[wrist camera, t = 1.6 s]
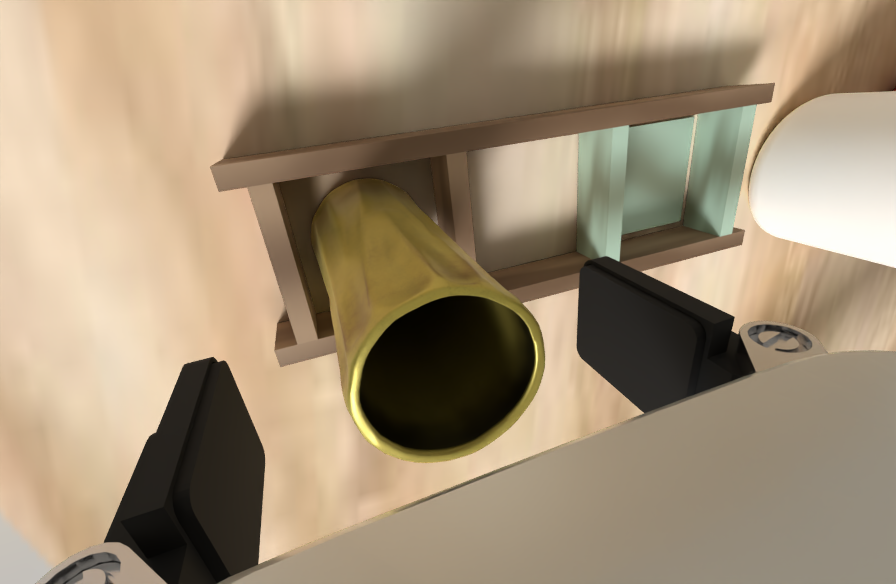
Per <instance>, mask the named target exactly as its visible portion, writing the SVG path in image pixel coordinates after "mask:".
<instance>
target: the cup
mask: <svg viewBox="0 0 896 584" xmlns="http://www.w3.org/2000/svg"><path fill="white" fill-rule="evenodd" d="M749 205H750V209H751V213H752V215H753V217H754V219H755V221H756V222H757V224H758V225H759V226H760V227H761V228H762V229H763V230H764V231H766V232H767V233H769V234H771V235H773V236H775V237H778V238H782V239H786V240H790V241H794V242H798V243H801V244H805V245H809V246H813V247H817V248H821V249H825V250H828V251H832V252H836V253H840V254H844V255H848V256H852V257H855V258H859V259H863V260H867V261H871V262H875V263H879V264H883V265H886V266H890V267H894V268H896V91H886V92H860V93H836V94H829V95H824V96H820V97H817V98H815V99H812V100H810V101H808V102H806V103H804V104H802V105H801V106H799V107H798V108H796V109H795V110H794V111H792V112H791V113H790V114H789V115H787V116H786V117H785V118H784V119H783V120H782V121H781V122H780V123H779V124H778V125H777V126H776V127H775V129H774V130H773V131H772V133H771V134H770V135H769V137H768V138H767V140H766V141H765V143H764V145H763V146H762V148H761V150H760V152H759V154H758V156H757V158H756V161H755V163H754V166H753V169H752V173H751V177H750V183H749Z"/></svg>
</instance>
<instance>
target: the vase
mask: <svg viewBox="0 0 896 584" xmlns="http://www.w3.org/2000/svg"><path fill="white" fill-rule="evenodd" d="M311 243H312V247H313V250H314V253H315V255H316V258H317V261H318V264H319V267H320V270H321V274H322V277H323V280H324V283H325V286H326V289H327V292H328V295H329V299H330V310H331V316H332V323H333V329H334V334H335V341H336V348H337V355H338V361H339V367H340V375H341V386H342V391H343V396H344V400H345V404H346V407H347V409H348V411H349V413H350V415H351V417H352V419H353V421H354V423H355V424H356V426H357V427H358V429H359V431H360V432H361V434H362V435H363V437H364V438H365V439H366V440H367V441H368V442H369V443H370V444H372V445H373V446H375V447H376V448H378V449H379V450H381V451H382V452H384V453H385V454H387V455H390V456H393V457H396V458H398V459H401V460H405V461H410V462H418V463H433V462H443V461H449V460H453V459H457V458H460V457H464V456H467V455H469V454H472V453H474V452H476V451H478V450H480V449H482V448H484V447H485V446H487V445H488V444H490V443H491V442H493V441H494V440H496V439H497V438H498V437H500V436H501V435H502V434H503V433H505V432H506V431H507V430H508V429H509V428H510V427H511V426H512V425H513V424H514V423H515V422H516V421H517V420H518V419H519V418H520V416H521V415H522V414H523V413H524V411H525V410H526V409H527V407H528V406H529V404H530V403H531V401H532V400H533V398H534V396H535V395H536V393H537V391H538V388H539V386H540V383H541V380H542V376H543V372H544V368H545V351H544V342H543V337H542V332H541V330H540V327H539V324H538V322H537V321H536V319H535V318H534V316H533V315H532V314H531V313H530V311H529V310H528V309H527V308H526V307H525V306H524V305H523V304H522V303H521V301H520V300H519V299H518V298H517V297H516V296H515V295H513V294H512V293H511V292H509V291H508V290H506V289H505V288H504V287H503V286H502V285H500V284H499V283H498V282H497V281H496V280H495V279H494V278H493V277H491V276H490V275H489V274H488V273H487V272H486V271H485V270H484V269H483V268H482V267H481V266H480V265H479V264H478V263H477V262H476V261H475V260H473V259H472V258H471V257H470V256H469V255H468V254H467V253H466V252H465V251H464V250H463V249H462V248H460V247H459V246H458V245H457V244H456V243H455V242H454V241H453V240H452V239H451V238H450V237H449V236H448V235H447V234H446V233H445V232H444V231H443V230H442V229H441V228H440V227H439V226H438V225H437V224H436V223H435V222H434V221H433V220H432V219H430V218H429V217H428V216H427V215H426V214H425V213H424V212H423V211H422V210H421V209H420V208H419V207H418V206H417V205H416V204H415V202H414V201H413V200H412V198H411V197H410V196H409V195H408V194H407V193H406V192H405V191H404V190H402V189H401V188H399V187H397V186H395V185H393V184H391V183H389V182H386V181H384V180H379V179H371V178H367V179H356V180H352V181H349V182H347V183H345V184H343V185H341V186H339V187H337V188H336V189H334V190H333V191H331V192H330V193H329V194H328V195H327V196H326V197H325V199H324V200H323V201H322V203H321V205H320V206H319V208H318V210H317V211H316V213H315V215H314V217H313V220H312V227H311Z"/></svg>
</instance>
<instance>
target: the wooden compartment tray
mask: <svg viewBox="0 0 896 584" xmlns="http://www.w3.org/2000/svg"><path fill="white" fill-rule="evenodd" d="M774 86H775V83H768V84H753V85H737V86H725V87H718V88H711V89H704V90H697V91H690V92H684V93H677V94H670V95H663V96H656V97H649V98H642V99H635V100H628V101H622V102H615V103H608V104H601V105H594V106H587V107H580V108H573V109H566V110H560V111H553V112H546V113H539V114H532V115H525V116H518V117H511V118H504V119H498V120H491V121H484V122H477V123H470V124H463V125H456V126H449V127H443V128H436V129H429V130H422V131H415V132H408V133H401V134H394V135H387V136H381V137H374V138H367V139H360V140H353V141H346V142H339V143H332V144H325V145H319V146H312V147H305V148H298V149H291V150H284V151H277V152H270V153H263V154H257V155H250V156H243V157H236V158H229V159H222V160H221V161H219V162H217V163H216V164H214V165H212V166H210V168H211V171H212V174H213V177H214V180H215V182H216V185H217V188H218V191H219V192H221V191H227V190H233V189H239V188H245V187H247V188H248V191H249V195H250V198H251V201H252V204H253V207H254V210H255V213H256V216H257V220H258V223H259V226H260V229H261V232H262V235H263V238H264V241H265V245H266V248H267V251H268V254H269V257H270V260H271V263H272V266H273V270H274V273H275V276H276V279H277V282H278V285H279V288H280V291H281V294H282V298H283V301H284V304H285V307H286V310H287V313H288V316H289V319H290V320H289V321H285V322H281V323H277V332H276V341H275V353H276V356H277V359H278V362H279V365H280V367H283V366H286V365H290V364H294V363H298V362H301V361H305V360H309V359H313V358H317V357H320V356H324V355H328V354H332V353H335V352H337V348H336V341H335V334H334V329H333V323H332V316H331V311H327V312H323V313H318V314H316V313H315V309H314V306H313V302H312V299H311V295H310V292H309V288H308V285H307V281H306V278H305V274H304V271H303V267H302V264H301V260H300V257H299V253H298V250H297V246H296V243H295V239H294V236H293V232H292V229H291V225H290V222H289V218H288V215H287V211H286V208H285V204H284V201H283V197H282V194H281V190H280V187H279V183H278V182H282V181H288V180H294V179H301V178H307V177H313V176H319V175H325V174H331V173H338V172H344V171H350V170H356V169H362V168H368V167H375V166H381V165H387V164H393V163H399V162H405V161H412V160H418V159H424V158H430V163H431V171H432V179H433V186H434V194H435V202H436V210H437V218H438V226H439V227H440V228H441V229H442V230H443V231H444V232H445V233H446V234H447V235H448V236H449V237H450V238H451V239H452V240H453V241H454V242H455V243H456V244H457V245H458V246H459V247H460V248H462V249H463V250H464V251H465V252H466V253H467V254H468V255H469V256H470V257H471V258H472V259H473V260H475V261H476V254H475V243H474V232H473V221H472V210H471V199H470V187H469V176H468V165H467V154H466V152H467V151H473V150H479V149H485V148H492V147H498V146H504V145H510V144H516V143H522V142H529V141H535V140H541V139H547V138H553V137H559V136H566V135H572V134H578V133H579V149H578V194H577V239H576V252H572V253H568V254H564V255H559V256H555V257H551V258H547V259H543V260H539V261H535V262H530V263H526V264H522V265H518V266H514V267H510V268H505V269H501V270H497V271H493V272H489V273H488V274H489V275H490V276H491V277H493V278H494V279H495V280H496V281H497V282H498V283H499V284H500V285H502V286H503V287H504V288H505V289H506V290H508V291H509V292H511V293H512V294H513V295H515V296H516V297H517V298H518V299H519V300H520V301H521V303H524V302H528V301H531V300H535V299H539V298H543V297H546V296H550V295H554V294H558V293H561V292H565V291H569V290H573V289H577V288H579V275H580V270H581V268H582V267H584V264H585V262H586V261H588V260H592V259H596V258H600V257H604V256H608V257H610V258H613V259H615V260H617V261H619V262H621V263H623V264H625V265H627V266H629V267H631V268H633V269H635V270H638V271H640V272H641V271H644V270H648V269H652V268H656V267H659V266H663V265H667V264H671V263H674V262H678V261H682V260H686V259H690V258H693V257H697V256H701V255H705V254H708V253H712V252H716V251H720V250H723V249H727V248H731V247H735V246H739V245H742V242H743V237H744V232H745V230H742V229H738V228H734V227H733V226H734V221H735V215H736V210H737V205H738V200H739V195H740V189H741V184H742V179H743V174H744V168H745V163H746V158H747V153H748V148H749V142H750V137H751V132H752V127H753V121H754V116H755V111H756V106H757V104H763V103H769V102H771V100H772V95H773V91H774ZM695 114H698V119H697V126H696V134H695V141H694V148H693V155H692V163H691V170H690V177H689V185H688V192H687V199H686V207H685V214H684V221H683V226H680V227H676V228H672V229H667V230H663V231H659V232H655V233H651V234H647V235H643V236H638V237H634V238H630V239H626V240H622V241H621V235H623V234H628V233H632V232H636V231H640V230H644V229H649V228H653V227H657V226H661V225H666V224H670V223H674V222H678V221H680V220H681V213H682V205H683V198H684V190H685V183H686V175H687V168H688V160H689V153H690V145H691V138H692V130H693V123H694V117H688V118H681V119H675V120H669V121H663V122H657V123H651V124H645V125H639V126H633V127H629V125H633V124H639V123H646V122H652V121H658V120H664V119H670V118H676V117H683V116H689V115H695Z"/></svg>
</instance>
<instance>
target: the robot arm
mask: <svg viewBox="0 0 896 584" xmlns="http://www.w3.org/2000/svg"><path fill="white" fill-rule="evenodd" d="M734 318H735V317H734V316H731V315H729V314H727V313H725V312H723V311H721V310H719V309H717V308H715V307H713V306H711V305H709V304H706V303H704V302H702V301H700V300H698V299H696V298H694V297H692V296H690V295H688V294H686V293H683V292H681V291H679V290H677V289H675V288H673V287H671V286H669V285H667V284H665V283H663V282H661V281H658V280H656V279H654V278H652V277H650V276H648V275H646V274H644V273H642V272H640V271H638V270H635V269H633V268H631V267H629V266H627V265H625V264H623V263H621V262H619V261H617V260H615V259H613V258H610V257H608V256H604V257H600V258H596V259H592V260H588V261H586V262H585V264H584V267H582V268H581V270H580V275H579V300H578V325H577V351H578V353H579V355H580V357H581V358H582V359H583V360H584V361H585V362H586V363H587V364H589V365H590V366H591V367H592V368H593V369H594V370H596V371H597V372H598V373H599V374H600V375H601V376H602V377H604V378H605V379H606V380H607V381H608V382H609V383H610V384H612V385H613V386H614V387H615V388H616V389H617V390H618V391H620V392H621V393H622V394H623V395H624V396H625V397H626V398H628V399H629V400H630V401H631V402H632V403H633V404H634V405H636V406H637V407H638V408H639V409H640V410H641V411H643V412H644V414H642V415H639V416H636V417H634V418H631V419H628V420H626V421H623V422H620V423H618V424H615V425H612V426H610V427H607V428H604V429H602V430H599V431H596V432H594V433H591V434H589V435H586V436H583V437H581V438H578V439H575V440H573V441H570V442H568V443H565V444H562V445H560V446H557V447H554V448H552V449H549V450H547V451H544V452H541V453H539V454H536V455H534V456H531V457H528V458H526V459H523V460H520V461H518V462H515V463H513V464H510V465H507V466H505V467H502V468H500V469H497V470H494V471H492V472H489V473H487V474H484V475H481V476H479V477H476V478H474V479H471V480H469V481H466V482H463V483H461V484H458V485H456V486H453V487H451V488H448V489H445V490H443V491H440V492H438V493H435V494H432V495H430V496H427V497H425V498H422V499H420V500H417V501H414V502H412V503H409V504H407V505H404V506H402V507H399V508H396V509H394V510H391V511H389V512H386V513H384V514H381V515H378V516H376V517H373V518H371V519H368V520H366V521H363V522H361V523H358V524H356V525H353V526H350V527H348V528H345V529H343V530H340V531H338V532H335V533H333V534H330V535H328V536H325V537H323V538H320V539H318V540H315V541H313V542H310V543H308V544H305V545H303V546H301V547H298V548H296V549H293V550H291V551H289V552H286V553H284V554H282V555H279V556H277V557H275V558H272V559H270V560H268V561H265V562H263V563H261V564H258V560H259V545H260V530H261V516H262V501H263V487H264V472H265V454H264V449H263V446H262V443H261V441H260V439H259V436H258V434H257V432H256V429H255V427H254V425H253V422H252V420H251V418H250V415H249V413H248V411H247V408H246V406H245V403H244V401H243V399H242V396H241V394H240V392H239V389H238V387H237V385H236V382H235V380H234V378H233V375H232V373H231V371H230V368H229V366H228V364H227V363H226V361H220V362H217V360H216V359H215V358H214V357H211V358H207V359H203V360H199V361H195V362H191V363H187V364H184V366H183V368H182V370H181V373H180V375H179V378H178V380H177V383H176V385H175V387H174V390H173V392H172V395H171V397H170V400H169V402H168V405H167V407H166V410H165V412H164V415H163V417H162V419H161V422H160V424H159V427H158V429H157V432H156V433H154V434H152V435H151V436H150V437H149V438H148V440H147V442H146V444H145V446H144V449H143V451H142V453H141V456H140V458H139V460H138V463H137V465H136V468H135V470H134V472H133V475H132V477H131V479H130V482H129V484H128V486H127V489H126V491H125V493H124V496H123V498H122V501H121V503H120V505H119V508H118V510H117V512H116V515H115V517H114V519H113V522H112V524H111V526H110V529H109V531H108V534H107V536H106V538H105V541H104V543H102V544H99V545H95V546H92V547H89V548H87V549H85V550H83V551H80V552H78V553H76V554H74V555H72V556H70V557H69V558H68V559H66V560H65V561H63V562H62V563H60V564H59V565H57V566H56V567H54V568H53V569H51V570H50V571H49V572H48V573H47V574H46V575H45V576H44V577H42V578H41V579H40V580H39V581H38V582H37V583H35V584H896V352H893V351H874V350H870V351H842V352H835V353H828V352H827V351H826V349H825V348H824V346H823V345H822V344H821V342H820V341H819V340H818V339H817V338H816V337H815V336H814V335H812V334H810V333H809V332H807V331H805V330H803V329H800V328H798V327H795V326H792V325H788V324H784V323H780V322H773V321H755V322H749V323H747V324H744V325H743V326H742V327H741V328H740V330H739V334H736V333H734V332H732V331H731V330H732V326H733V322H734Z"/></svg>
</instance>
